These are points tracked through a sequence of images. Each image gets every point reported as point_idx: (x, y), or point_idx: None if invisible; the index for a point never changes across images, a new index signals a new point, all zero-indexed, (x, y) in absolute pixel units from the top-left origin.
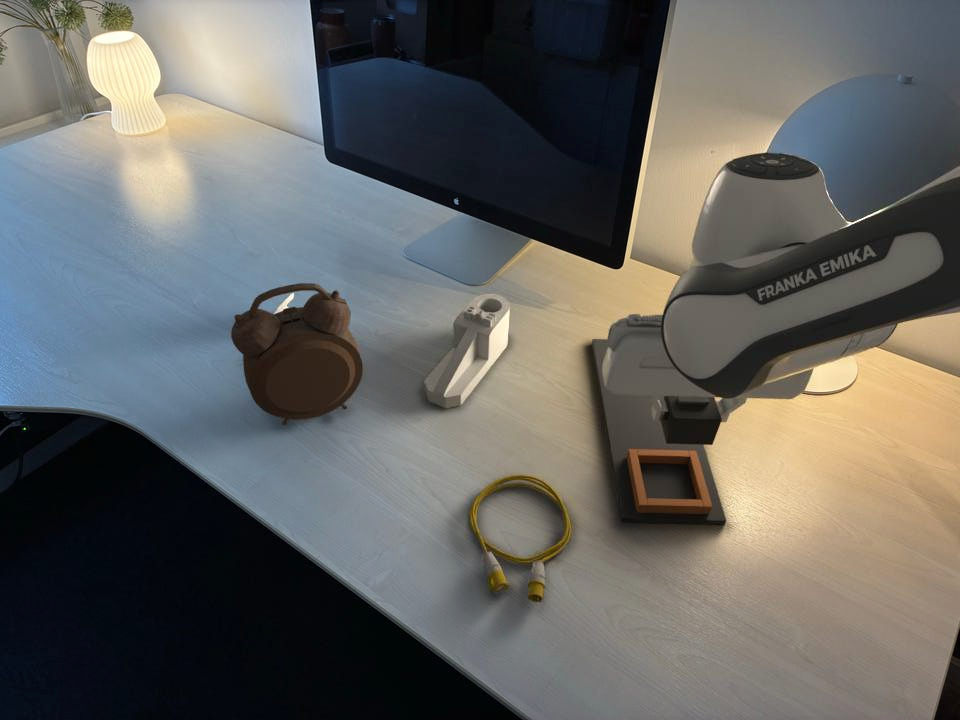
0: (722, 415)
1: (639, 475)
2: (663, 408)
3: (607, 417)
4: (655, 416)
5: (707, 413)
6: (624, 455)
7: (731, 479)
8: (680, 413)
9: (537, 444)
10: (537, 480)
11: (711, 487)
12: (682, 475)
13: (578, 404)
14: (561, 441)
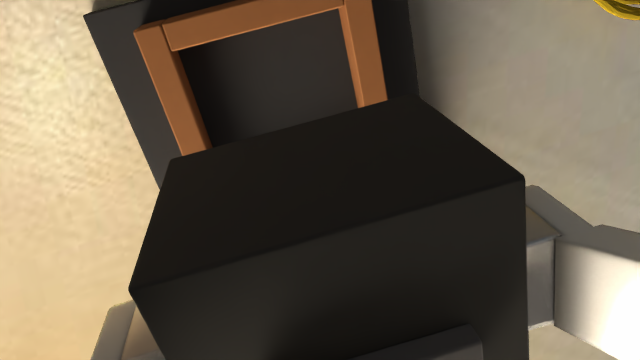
0: (137, 339)
1: (368, 90)
2: (544, 260)
3: None
4: (555, 200)
5: (255, 311)
6: None
7: (100, 185)
8: (466, 242)
9: (593, 142)
10: (626, 10)
11: (149, 130)
12: None
13: None
14: (536, 169)
